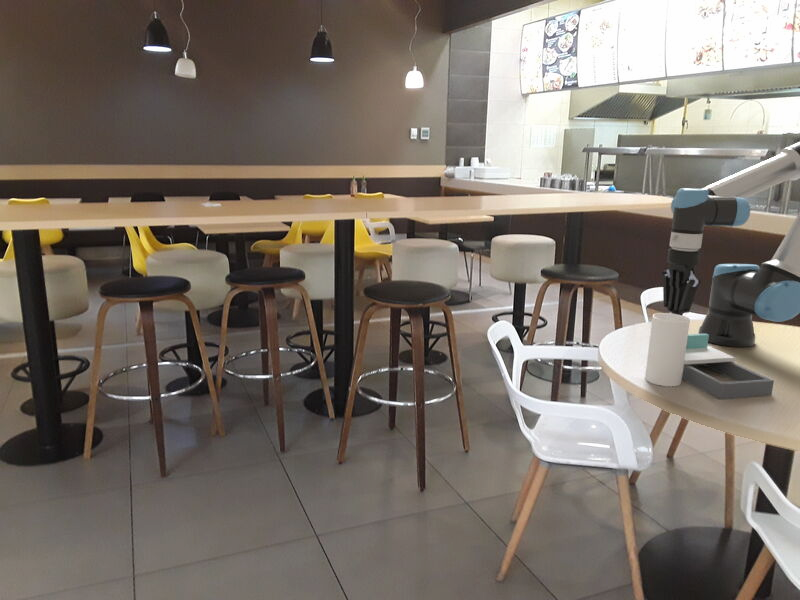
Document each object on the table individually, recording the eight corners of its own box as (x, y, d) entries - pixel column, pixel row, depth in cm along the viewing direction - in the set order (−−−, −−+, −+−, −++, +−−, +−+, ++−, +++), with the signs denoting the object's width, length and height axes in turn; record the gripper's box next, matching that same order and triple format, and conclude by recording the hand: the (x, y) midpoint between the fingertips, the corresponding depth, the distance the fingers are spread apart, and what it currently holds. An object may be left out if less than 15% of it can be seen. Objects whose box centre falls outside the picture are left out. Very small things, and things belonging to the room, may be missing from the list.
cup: (678, 389, 147) (687, 324, 143) (641, 381, 151) (649, 318, 147) (683, 378, 154) (692, 316, 150) (648, 372, 158) (656, 311, 154)
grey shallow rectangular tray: (706, 363, 165) (708, 350, 165) (771, 395, 145) (774, 380, 144) (659, 366, 162) (661, 353, 161) (719, 399, 142) (721, 384, 141)
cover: (708, 349, 164) (710, 333, 163) (734, 361, 156) (737, 344, 154) (661, 352, 161) (663, 335, 160) (685, 364, 152) (687, 346, 151)
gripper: (656, 244, 167) (645, 329, 173) (688, 253, 155) (675, 343, 160) (680, 244, 169) (669, 328, 174) (714, 252, 157) (700, 342, 162)
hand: (672, 335), depth 167 cm, fingers closed
